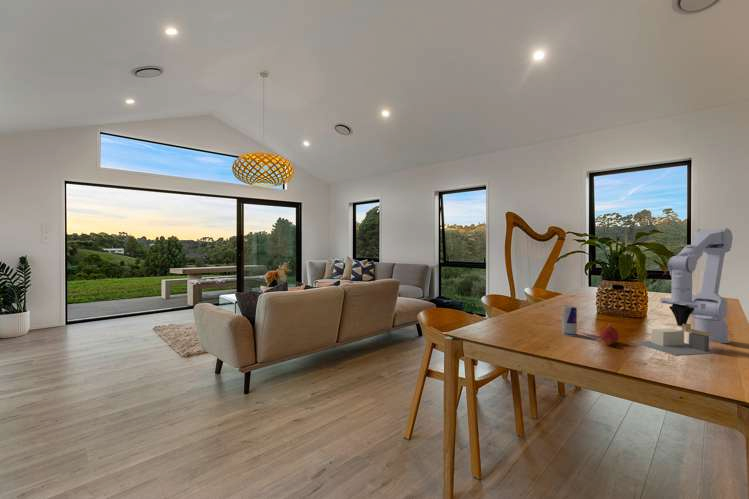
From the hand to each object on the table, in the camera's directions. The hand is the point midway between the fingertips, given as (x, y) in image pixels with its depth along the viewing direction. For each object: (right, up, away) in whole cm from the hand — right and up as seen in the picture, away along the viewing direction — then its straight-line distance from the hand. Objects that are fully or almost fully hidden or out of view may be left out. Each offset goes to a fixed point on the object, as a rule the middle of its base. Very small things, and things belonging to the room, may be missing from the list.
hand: (681, 325), depth 128 cm
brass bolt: (+1, -1, -5) cm, 5 cm away
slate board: (-5, -8, -2) cm, 10 cm away
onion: (-24, -8, +3) cm, 26 cm away
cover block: (-4, -7, +2) cm, 8 cm away
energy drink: (-31, -8, +18) cm, 37 cm away
